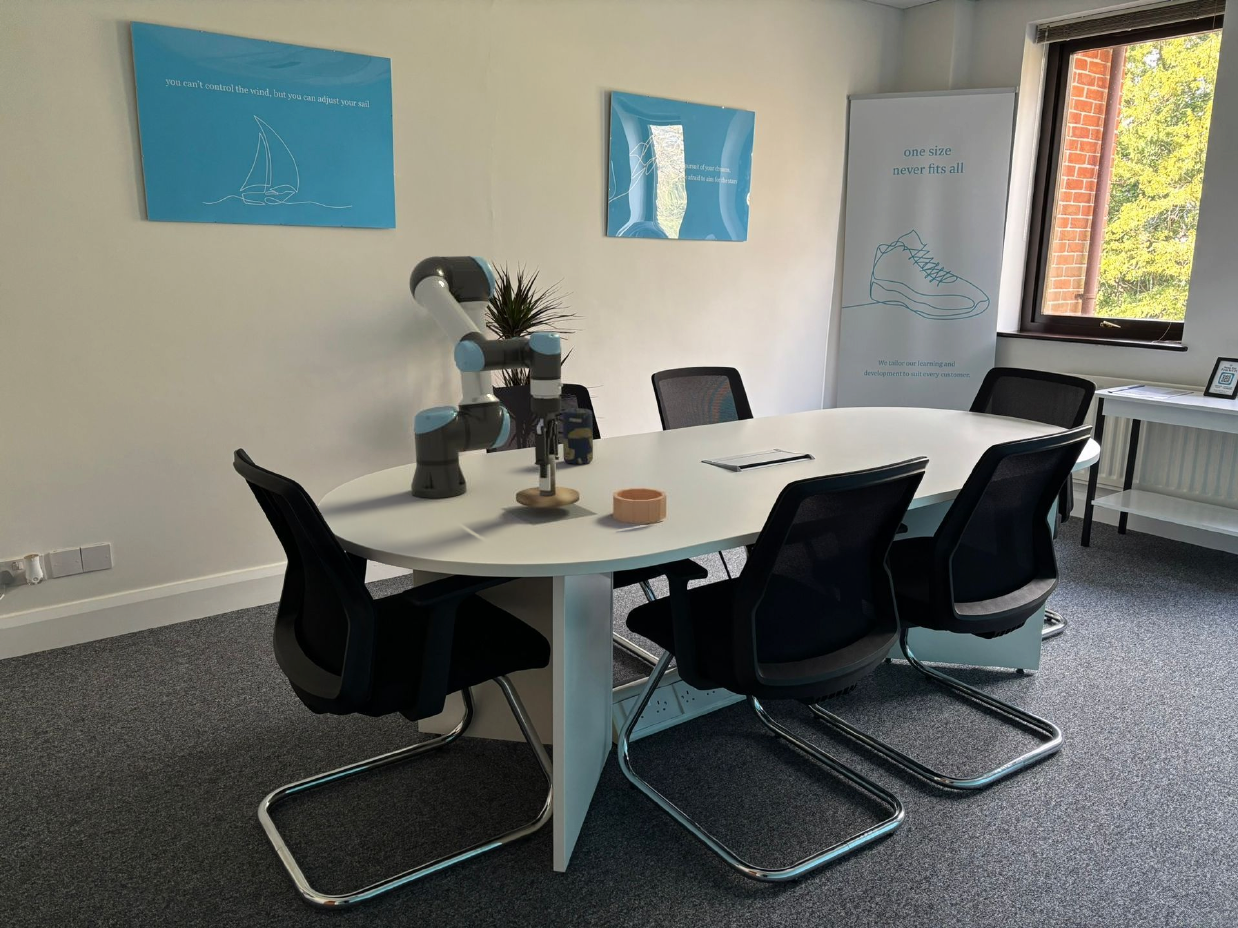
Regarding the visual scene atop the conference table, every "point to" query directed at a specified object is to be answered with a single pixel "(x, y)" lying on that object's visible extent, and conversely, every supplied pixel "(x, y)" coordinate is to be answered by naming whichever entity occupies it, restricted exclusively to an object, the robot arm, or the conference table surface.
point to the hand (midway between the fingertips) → (547, 487)
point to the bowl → (639, 505)
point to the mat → (548, 513)
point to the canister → (577, 436)
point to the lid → (548, 493)
